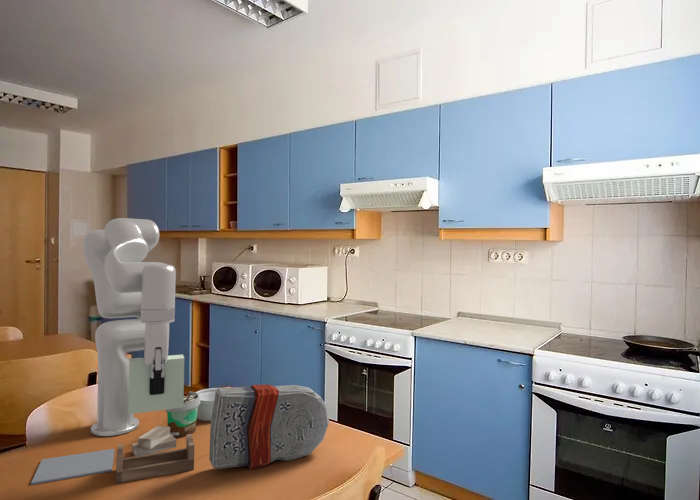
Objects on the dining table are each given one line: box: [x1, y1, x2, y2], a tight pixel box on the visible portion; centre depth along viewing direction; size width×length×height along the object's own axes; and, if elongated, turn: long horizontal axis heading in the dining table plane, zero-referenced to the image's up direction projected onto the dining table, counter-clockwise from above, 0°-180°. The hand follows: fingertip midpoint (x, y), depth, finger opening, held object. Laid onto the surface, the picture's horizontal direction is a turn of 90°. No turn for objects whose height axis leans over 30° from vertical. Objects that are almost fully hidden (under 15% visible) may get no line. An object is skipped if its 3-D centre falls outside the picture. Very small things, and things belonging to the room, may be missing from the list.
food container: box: [165, 390, 201, 439], centre depth 130 cm, size 12×6×10 cm, turn 168°
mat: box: [30, 448, 116, 486], centre depth 109 cm, size 12×16×1 cm
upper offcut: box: [137, 425, 170, 449], centre depth 119 cm, size 4×8×2 cm, turn 169°
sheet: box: [128, 354, 185, 415], centre depth 109 cm, size 4×12×12 cm, turn 115°
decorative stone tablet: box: [208, 384, 330, 470], centre depth 114 cm, size 19×6×30 cm
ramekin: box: [195, 387, 219, 422], centre depth 144 cm, size 13×13×7 cm
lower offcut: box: [131, 435, 177, 456], centre depth 119 cm, size 4×10×2 cm, turn 129°
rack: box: [115, 434, 195, 484], centre depth 108 cm, size 7×17×6 cm, turn 115°
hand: (156, 390), depth 109 cm, fingers closed on sheet, 4 cm apart
